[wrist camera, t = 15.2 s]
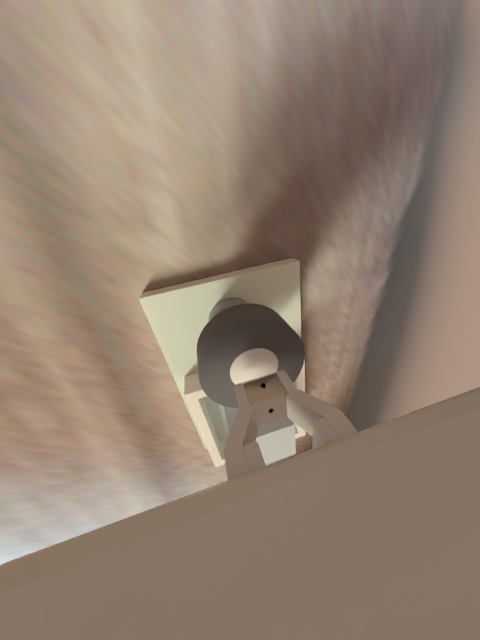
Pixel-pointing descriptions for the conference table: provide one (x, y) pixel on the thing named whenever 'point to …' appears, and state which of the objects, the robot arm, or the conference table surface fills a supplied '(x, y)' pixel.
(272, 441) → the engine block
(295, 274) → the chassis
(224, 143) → the conference table surface
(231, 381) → the wheel
